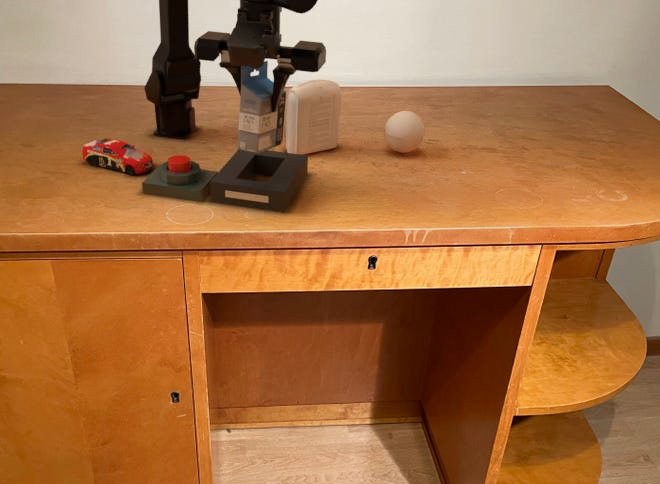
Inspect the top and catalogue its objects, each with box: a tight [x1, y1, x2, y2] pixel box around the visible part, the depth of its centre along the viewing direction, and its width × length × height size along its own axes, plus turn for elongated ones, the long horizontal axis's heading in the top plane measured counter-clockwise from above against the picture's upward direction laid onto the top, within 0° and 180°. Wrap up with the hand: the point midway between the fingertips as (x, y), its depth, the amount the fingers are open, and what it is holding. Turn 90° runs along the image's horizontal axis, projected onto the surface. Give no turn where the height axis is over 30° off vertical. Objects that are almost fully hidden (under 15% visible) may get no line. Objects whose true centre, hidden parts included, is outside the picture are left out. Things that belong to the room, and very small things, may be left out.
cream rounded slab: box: [285, 78, 342, 155], centre depth 127 cm, size 10×4×12 cm, turn 123°
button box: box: [141, 160, 219, 203], centre depth 115 cm, size 10×8×4 cm
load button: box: [167, 154, 192, 173], centre depth 113 cm, size 4×4×2 cm
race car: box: [81, 138, 154, 177], centre depth 121 cm, size 13×5×4 cm, turn 63°
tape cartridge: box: [236, 60, 287, 154], centre depth 109 cm, size 9×4×12 cm, turn 156°
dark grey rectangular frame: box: [210, 149, 309, 213], centre depth 115 cm, size 12×15×4 cm
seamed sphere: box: [375, 110, 425, 154], centre depth 129 cm, size 10×7×7 cm
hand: (260, 109), depth 109 cm, fingers closed on tape cartridge, 4 cm apart
